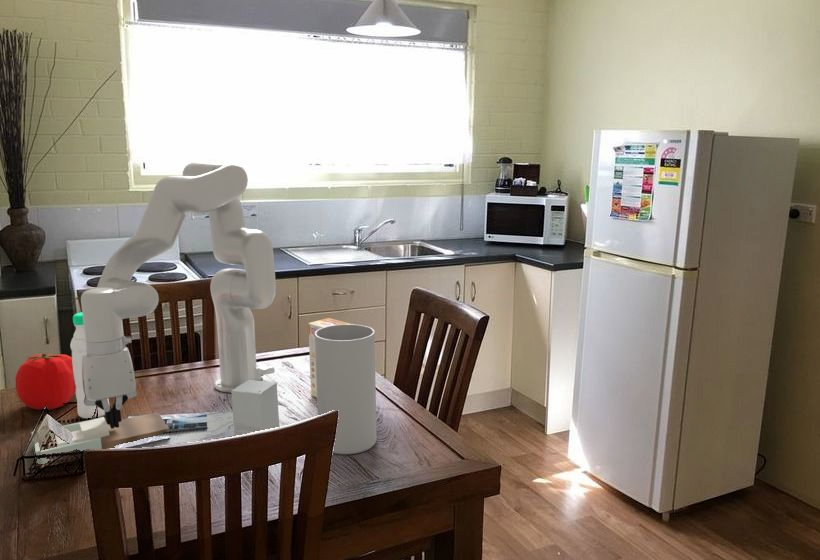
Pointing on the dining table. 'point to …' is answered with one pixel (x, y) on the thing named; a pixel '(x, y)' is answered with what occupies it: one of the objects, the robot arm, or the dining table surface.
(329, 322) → the coffeecake box
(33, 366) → the tomato
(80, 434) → the tile
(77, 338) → the water bottle
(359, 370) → the cylinder vase
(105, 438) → the board
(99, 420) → the tile
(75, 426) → the tray
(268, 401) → the supplement box
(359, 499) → the dining table surface
